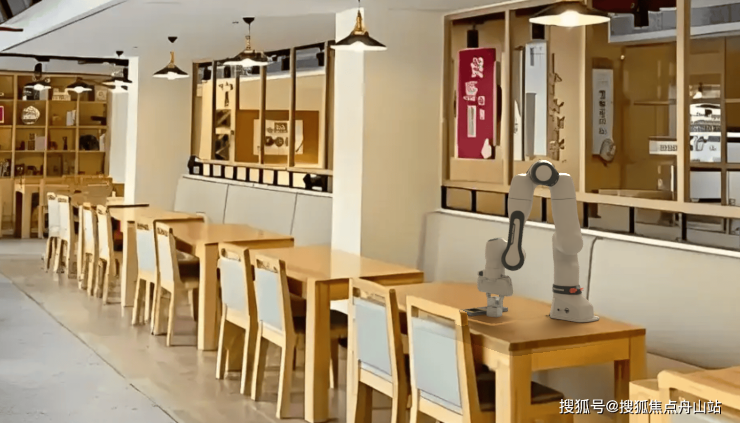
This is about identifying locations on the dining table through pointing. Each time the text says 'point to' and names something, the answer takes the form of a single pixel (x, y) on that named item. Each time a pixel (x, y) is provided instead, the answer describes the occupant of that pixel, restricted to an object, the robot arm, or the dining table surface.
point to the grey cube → (493, 301)
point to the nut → (494, 311)
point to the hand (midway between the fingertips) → (495, 303)
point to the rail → (480, 311)
